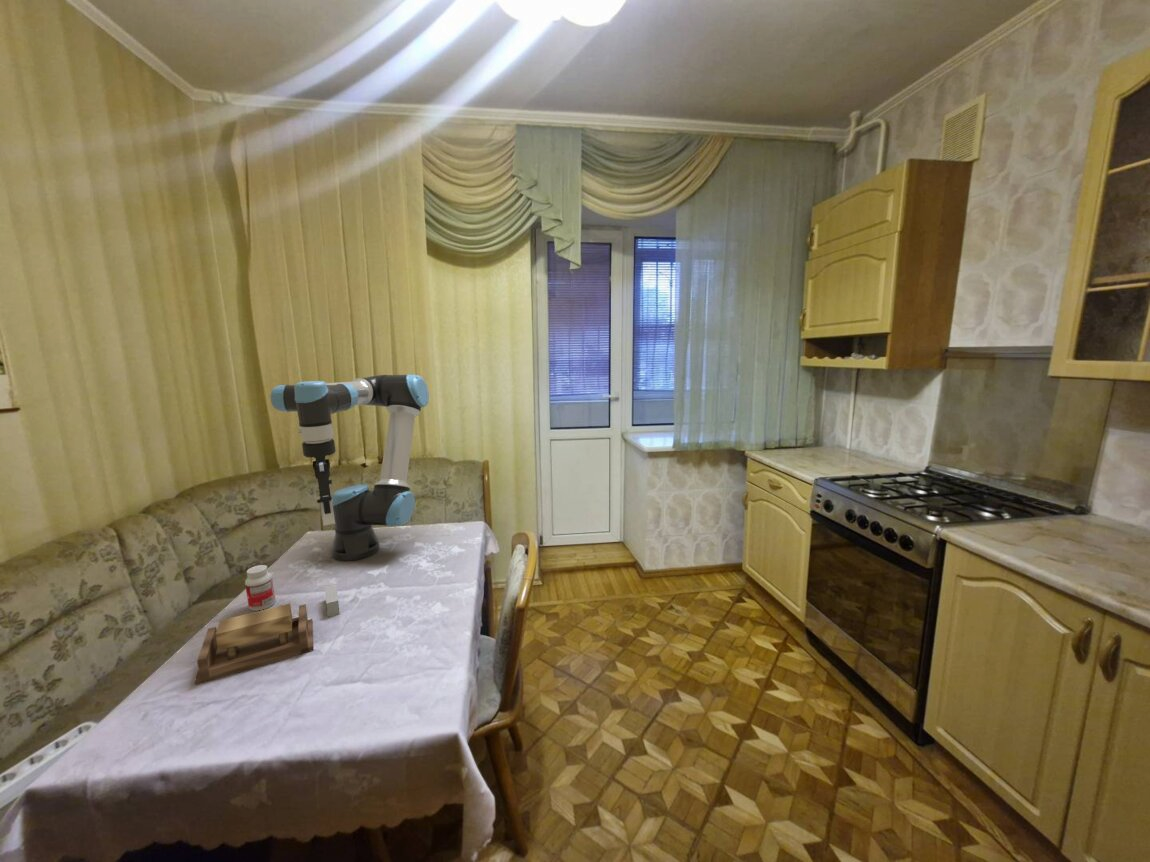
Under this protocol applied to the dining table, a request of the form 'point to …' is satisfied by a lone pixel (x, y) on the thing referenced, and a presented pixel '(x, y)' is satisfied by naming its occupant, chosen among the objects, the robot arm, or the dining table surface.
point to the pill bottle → (259, 588)
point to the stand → (332, 600)
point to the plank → (254, 626)
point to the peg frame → (253, 650)
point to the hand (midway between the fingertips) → (328, 515)
